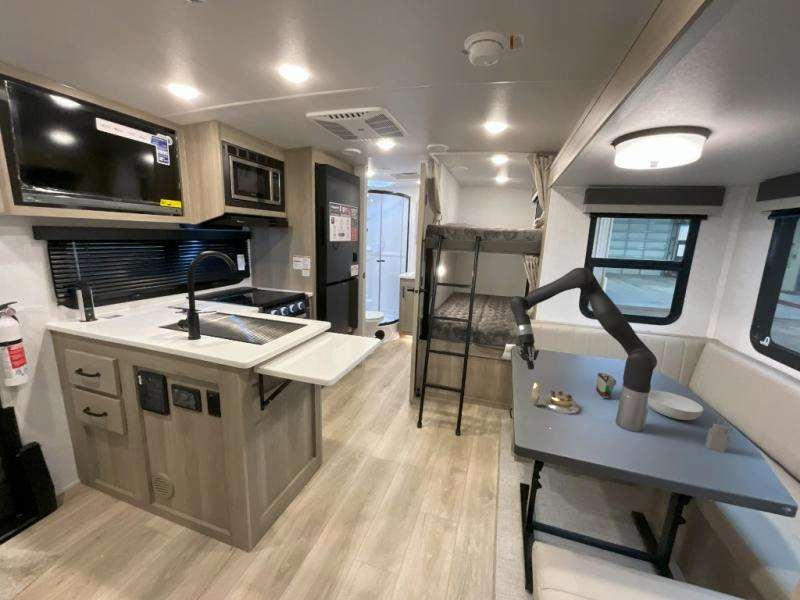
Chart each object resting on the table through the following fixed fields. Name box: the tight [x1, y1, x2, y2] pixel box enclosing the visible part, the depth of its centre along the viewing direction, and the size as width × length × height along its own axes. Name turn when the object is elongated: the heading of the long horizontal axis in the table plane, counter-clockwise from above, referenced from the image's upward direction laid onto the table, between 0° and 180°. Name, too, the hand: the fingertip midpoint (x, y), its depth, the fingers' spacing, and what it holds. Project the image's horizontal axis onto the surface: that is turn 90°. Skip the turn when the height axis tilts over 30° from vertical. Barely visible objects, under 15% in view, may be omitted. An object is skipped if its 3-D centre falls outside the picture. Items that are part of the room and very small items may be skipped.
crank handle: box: [530, 381, 574, 407], centre depth 151 cm, size 20×10×9 cm, turn 97°
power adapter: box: [704, 419, 731, 453], centre depth 125 cm, size 3×5×12 cm, turn 61°
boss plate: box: [541, 393, 580, 415], centre depth 153 cm, size 16×16×2 cm
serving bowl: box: [647, 390, 704, 421], centre depth 151 cm, size 21×21×7 cm
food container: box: [595, 372, 617, 400], centre depth 166 cm, size 12×6×10 cm, turn 168°
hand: (531, 369), depth 160 cm, fingers closed
